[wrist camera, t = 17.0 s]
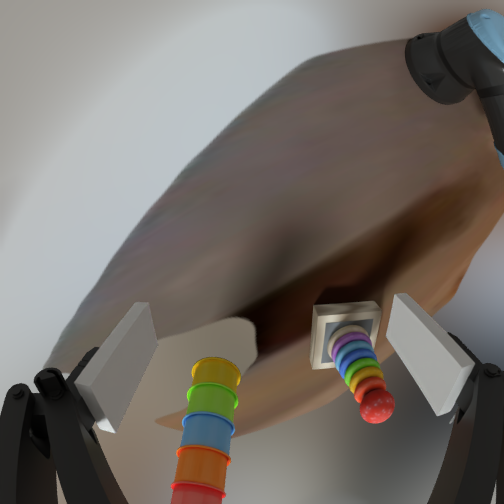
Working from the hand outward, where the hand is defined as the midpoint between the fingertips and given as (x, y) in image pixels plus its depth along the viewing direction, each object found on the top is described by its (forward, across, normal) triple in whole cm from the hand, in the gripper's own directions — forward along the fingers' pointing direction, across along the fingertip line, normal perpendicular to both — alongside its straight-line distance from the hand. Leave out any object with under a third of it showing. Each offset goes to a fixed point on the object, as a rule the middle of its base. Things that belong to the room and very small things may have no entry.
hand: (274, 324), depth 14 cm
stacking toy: (+28, +15, -22) cm, 38 cm away
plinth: (+32, +15, -22) cm, 41 cm away
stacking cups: (+32, -10, -32) cm, 46 cm away
